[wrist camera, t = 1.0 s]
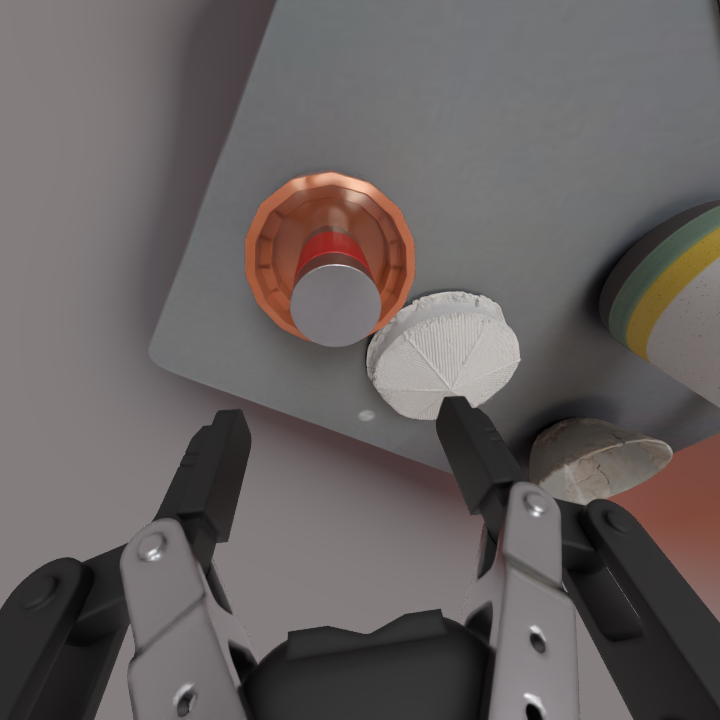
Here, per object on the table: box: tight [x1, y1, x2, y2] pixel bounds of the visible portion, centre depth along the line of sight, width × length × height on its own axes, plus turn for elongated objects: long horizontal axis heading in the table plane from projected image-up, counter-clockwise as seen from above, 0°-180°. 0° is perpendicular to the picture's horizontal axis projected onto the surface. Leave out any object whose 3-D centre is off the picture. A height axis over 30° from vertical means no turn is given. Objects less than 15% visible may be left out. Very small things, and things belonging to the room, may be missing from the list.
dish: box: [245, 169, 415, 342], centre depth 25 cm, size 15×15×5 cm
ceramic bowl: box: [529, 417, 673, 505], centre depth 49 cm, size 22×23×10 cm
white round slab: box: [366, 291, 521, 420], centre depth 34 cm, size 20×20×7 cm
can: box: [290, 226, 381, 347], centre depth 22 cm, size 6×6×11 cm
